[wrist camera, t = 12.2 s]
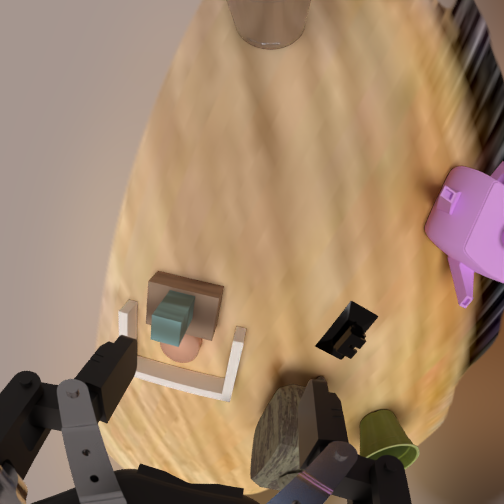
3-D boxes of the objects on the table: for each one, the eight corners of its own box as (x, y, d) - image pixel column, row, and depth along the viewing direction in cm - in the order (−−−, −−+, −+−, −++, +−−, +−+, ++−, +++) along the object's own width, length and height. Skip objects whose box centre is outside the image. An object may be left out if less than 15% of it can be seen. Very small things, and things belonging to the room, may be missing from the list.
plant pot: (353, 404, 50) (364, 449, 40) (410, 397, 49) (428, 438, 39) (343, 441, 54) (350, 483, 43) (395, 434, 53) (407, 473, 42)
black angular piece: (338, 365, 48) (342, 383, 44) (303, 348, 48) (305, 365, 43) (386, 309, 45) (395, 324, 40) (351, 287, 44) (358, 301, 40)
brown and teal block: (158, 270, 45) (127, 304, 34) (223, 286, 45) (208, 325, 34) (155, 310, 47) (127, 350, 37) (216, 326, 47) (201, 371, 37)
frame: (129, 299, 47) (118, 311, 43) (246, 328, 47) (243, 343, 43) (129, 359, 51) (120, 372, 47) (232, 386, 50) (229, 402, 47)
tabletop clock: (298, 424, 53) (301, 538, 29) (254, 413, 52) (241, 531, 29) (334, 371, 48) (358, 501, 24) (284, 358, 48) (284, 495, 24)
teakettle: (507, 249, 39) (552, 275, 28) (430, 286, 42) (468, 325, 31) (492, 150, 35) (544, 155, 23) (407, 179, 38) (452, 191, 26)
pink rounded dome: (166, 317, 47) (160, 326, 44) (203, 325, 47) (199, 335, 44) (165, 347, 49) (160, 357, 46) (200, 355, 49) (196, 366, 46)
